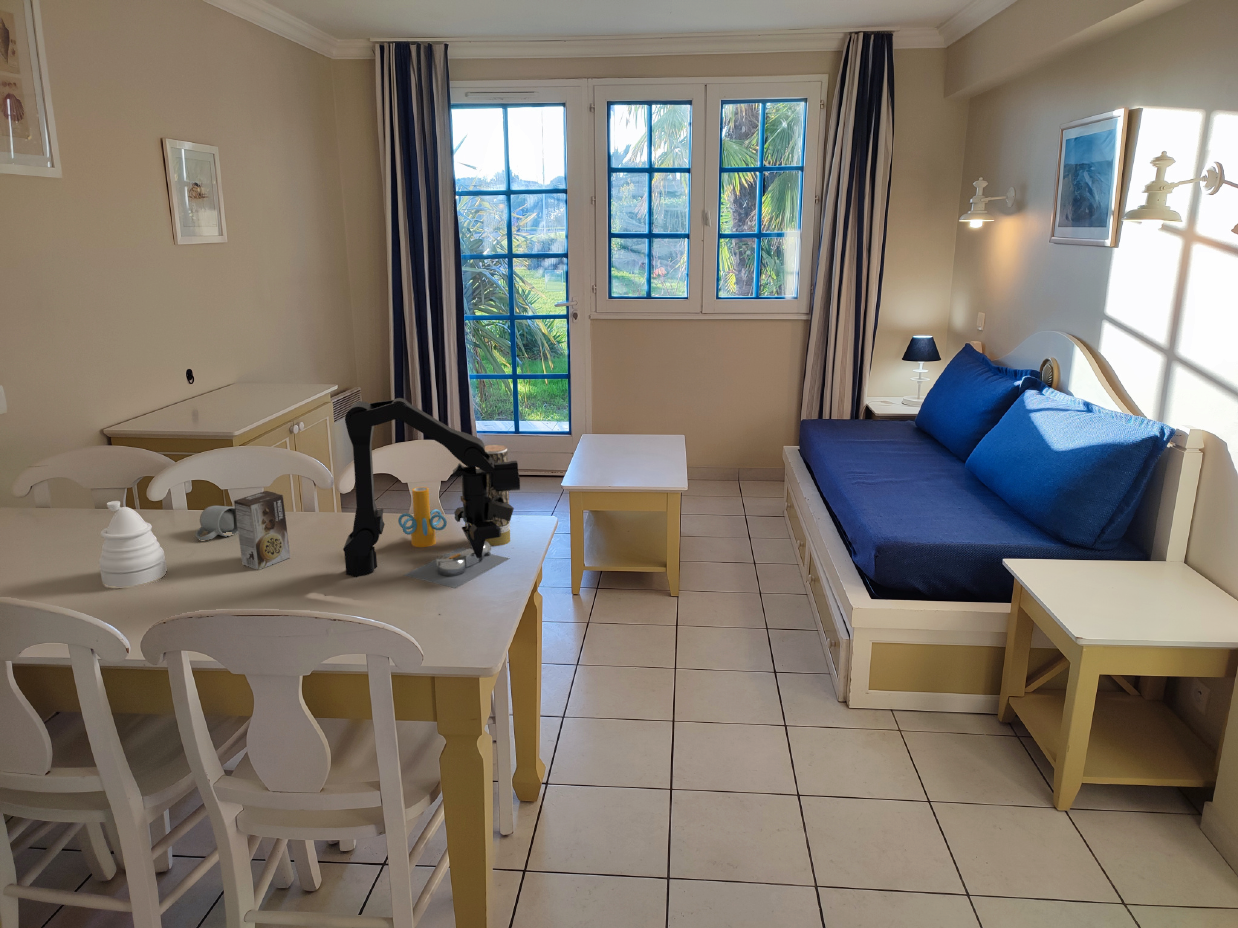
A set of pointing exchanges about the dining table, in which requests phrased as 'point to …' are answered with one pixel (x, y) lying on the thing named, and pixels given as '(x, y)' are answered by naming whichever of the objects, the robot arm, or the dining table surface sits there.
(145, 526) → the honey pot
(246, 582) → the dining table surface
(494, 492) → the bark covered log
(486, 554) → the duct stub
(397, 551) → the dining table surface
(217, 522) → the ceramic mug
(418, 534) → the cylinder
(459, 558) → the dial knob with block
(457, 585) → the mat
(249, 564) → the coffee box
